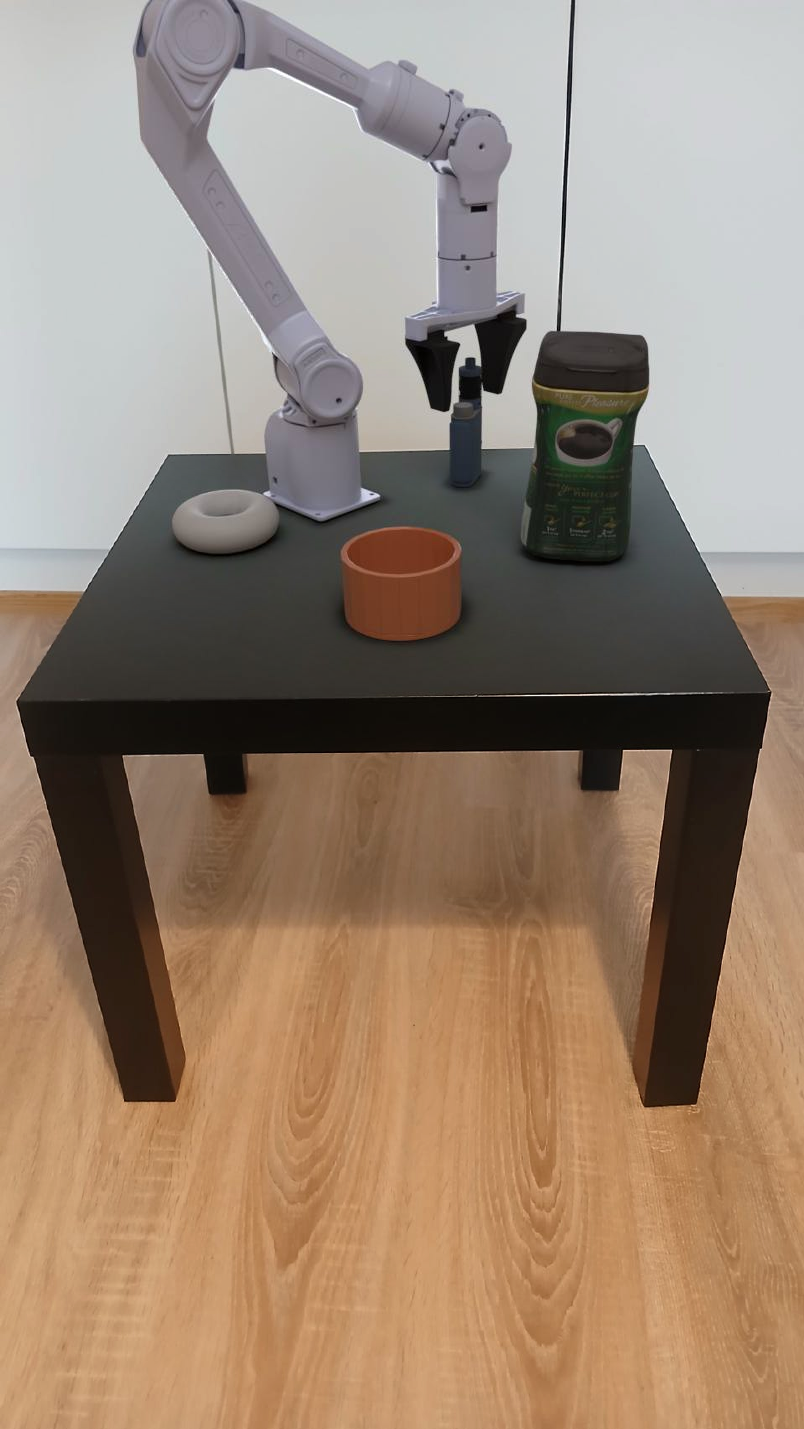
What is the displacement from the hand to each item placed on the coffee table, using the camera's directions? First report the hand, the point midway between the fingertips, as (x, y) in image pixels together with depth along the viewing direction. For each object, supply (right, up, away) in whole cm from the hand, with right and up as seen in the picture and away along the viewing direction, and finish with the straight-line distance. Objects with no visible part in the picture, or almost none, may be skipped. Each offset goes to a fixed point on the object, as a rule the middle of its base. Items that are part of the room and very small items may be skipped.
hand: (466, 400), depth 106 cm
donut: (-23, -15, -6) cm, 28 cm away
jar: (-6, -23, -20) cm, 31 cm away
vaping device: (0, -7, +5) cm, 8 cm away
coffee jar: (+9, -17, -11) cm, 22 cm away
